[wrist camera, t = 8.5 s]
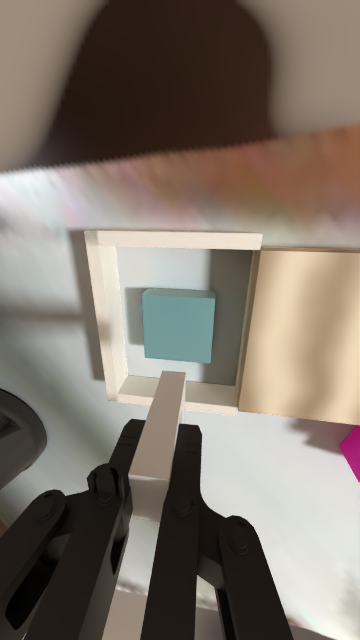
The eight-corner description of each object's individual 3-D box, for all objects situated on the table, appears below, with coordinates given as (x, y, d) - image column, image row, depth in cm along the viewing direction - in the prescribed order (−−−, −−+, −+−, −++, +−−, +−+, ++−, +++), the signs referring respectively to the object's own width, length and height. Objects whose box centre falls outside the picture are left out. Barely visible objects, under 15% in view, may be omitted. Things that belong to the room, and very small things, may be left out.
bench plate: (235, 386, 27) (237, 411, 23) (253, 246, 21) (261, 250, 17) (343, 397, 26) (364, 425, 22) (397, 249, 19) (440, 255, 16)
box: (119, 381, 29) (108, 400, 26) (102, 229, 22) (83, 230, 19) (233, 394, 28) (236, 416, 24) (255, 232, 20) (262, 233, 17)
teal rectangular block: (152, 344, 27) (144, 357, 24) (149, 287, 24) (141, 294, 22) (211, 349, 26) (210, 363, 23) (215, 290, 23) (215, 298, 21)
